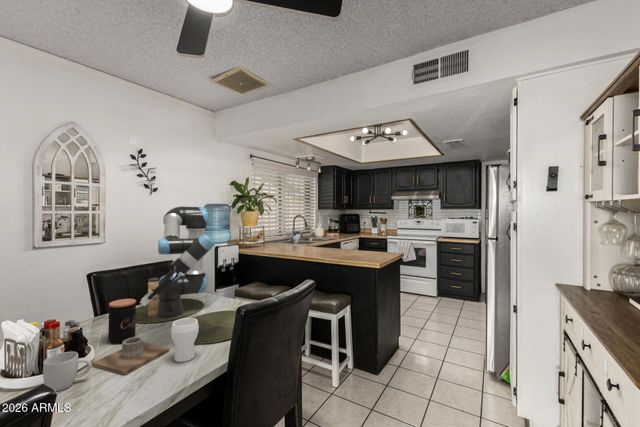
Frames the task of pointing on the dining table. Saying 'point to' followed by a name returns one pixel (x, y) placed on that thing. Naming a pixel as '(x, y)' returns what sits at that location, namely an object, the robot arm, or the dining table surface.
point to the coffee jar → (121, 320)
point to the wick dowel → (154, 302)
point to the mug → (63, 370)
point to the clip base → (131, 363)
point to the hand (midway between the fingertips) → (143, 302)
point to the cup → (184, 338)
